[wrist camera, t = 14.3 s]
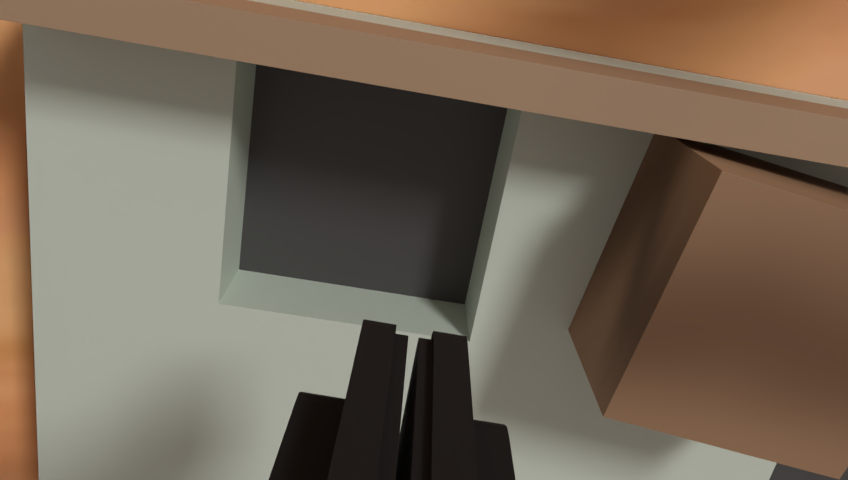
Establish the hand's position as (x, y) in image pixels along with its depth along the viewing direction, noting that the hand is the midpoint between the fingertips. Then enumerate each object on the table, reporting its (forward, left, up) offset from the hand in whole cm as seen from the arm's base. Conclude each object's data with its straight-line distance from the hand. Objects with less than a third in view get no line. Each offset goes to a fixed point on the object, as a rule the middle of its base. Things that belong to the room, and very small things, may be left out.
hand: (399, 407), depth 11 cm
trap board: (+3, +6, -10) cm, 12 cm away
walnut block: (-1, +8, -8) cm, 11 cm away
